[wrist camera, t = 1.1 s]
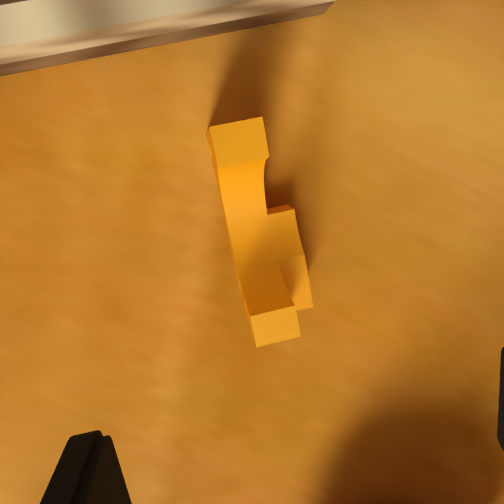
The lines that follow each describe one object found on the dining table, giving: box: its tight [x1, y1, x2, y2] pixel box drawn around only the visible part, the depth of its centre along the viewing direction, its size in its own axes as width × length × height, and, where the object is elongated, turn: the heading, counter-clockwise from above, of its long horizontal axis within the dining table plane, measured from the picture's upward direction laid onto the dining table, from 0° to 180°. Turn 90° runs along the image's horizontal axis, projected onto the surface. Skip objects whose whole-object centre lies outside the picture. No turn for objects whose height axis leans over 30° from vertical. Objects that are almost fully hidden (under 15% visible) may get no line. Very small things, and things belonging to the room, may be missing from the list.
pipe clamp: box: [206, 117, 313, 347], centre depth 22 cm, size 12×4×6 cm, turn 11°
